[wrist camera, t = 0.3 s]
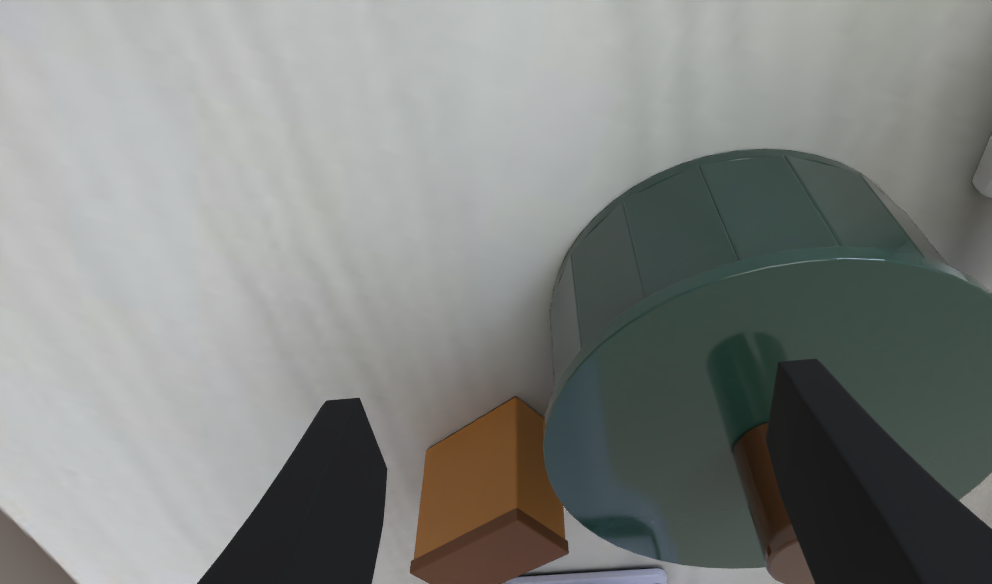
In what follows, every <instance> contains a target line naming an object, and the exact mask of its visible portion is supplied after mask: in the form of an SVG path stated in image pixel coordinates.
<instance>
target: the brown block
mask: <svg viewBox="0 0 992 584" xmlns="http://www.w3.org/2000/svg"><path fill="white" fill-rule="evenodd" d="M543 424H544V418H543V417H542V416H540V415H539V414H538V413H537V412H535V411H534V410H533V409H531V408H530V407H529V406H527V405H526V404H525V403H524V402H522V401H521V400H520V399H518V398H517V397H514V398H513V399H511V400H509V401H508V402H506V403H504V404H503V405H501V406H499V407H498V408H496V409H494V410H493V411H491V412H489V413H488V414H486V415H484V416H483V417H481V418H479V419H478V420H476V421H474V422H473V423H471V424H469V425H468V426H466V427H464V428H463V429H461V430H459V431H458V432H456V433H454V434H453V435H451V436H449V437H448V438H446V439H444V440H443V441H441V442H439V443H438V444H436V445H434V446H433V447H431V448H429V449H428V450H427V451H426V459H425V467H424V476H423V484H422V493H421V501H420V510H419V519H418V527H417V536H416V544H415V553H414V560H412V561H411V567H410V573H411V574H412V575H414V576H416V577H418V578H420V579H422V580H424V581H425V582H427V583H429V584H502V583H504V582H506V581H508V580H511V579H513V578H515V577H517V576H520V575H522V574H524V573H526V572H529V571H531V570H533V569H535V568H538V567H540V566H542V565H544V564H546V563H549V562H551V561H553V560H555V559H558V558H560V557H562V556H564V555H567V554H568V553H569V551H568V541H567V540H565V528H564V513H563V504H562V503H561V502H560V500H559V499H558V498H557V496H556V494H555V492H554V490H553V488H552V486H551V484H550V482H549V480H548V476H547V473H546V469H545V466H544V457H543V441H542V432H543Z"/></svg>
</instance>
